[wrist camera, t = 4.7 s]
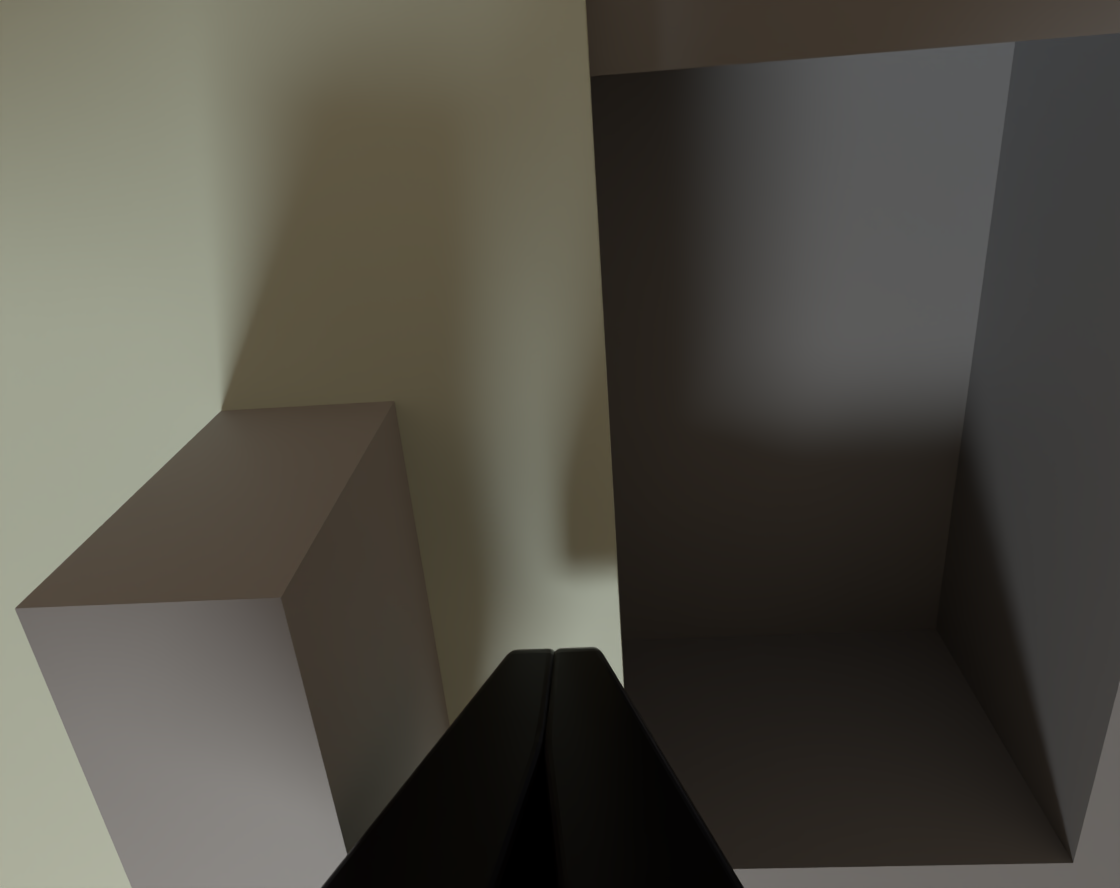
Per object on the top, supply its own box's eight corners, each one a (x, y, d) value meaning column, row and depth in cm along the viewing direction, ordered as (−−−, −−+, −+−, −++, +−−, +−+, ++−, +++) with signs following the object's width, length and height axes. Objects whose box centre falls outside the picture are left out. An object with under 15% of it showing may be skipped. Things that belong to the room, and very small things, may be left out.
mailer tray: (1068, -52, 12) (1462, -137, 7) (963, 636, 17) (1136, 913, 12) (-251, 65, 13) (-835, 75, 8) (13, 670, 18) (-233, 932, 13)
